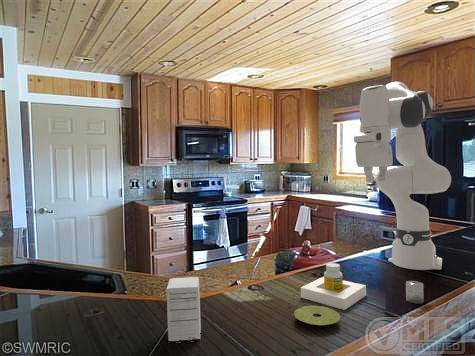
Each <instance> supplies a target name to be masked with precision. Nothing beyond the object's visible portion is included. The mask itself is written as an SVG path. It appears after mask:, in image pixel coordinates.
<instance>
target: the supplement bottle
mask: <svg viewBox="0 0 475 356" xmlns="http://www.w3.org/2000/svg"><path fill="white" fill-rule="evenodd" d="M325 269H326V270H324V273H323V275H324V276H323V277H324V288H325V290H329V291H333V292H337V293H340V292H342V291H343V279H344V278H343V273H342V272H341V271H340V270H341V265H340V264H339V263H334V262H331V263H326V264H325Z"/></svg>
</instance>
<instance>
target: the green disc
mask: <svg viewBox="0 0 475 356" xmlns="http://www.w3.org/2000/svg"><path fill="white" fill-rule="evenodd" d="M293 315H294V317H295V318H296V319H297V320H299V321H300V322H304V323H306V324H309V325H316V326H327V325H333V324H336V323H338V322H339V321H340V319H341V315H340V313H339V312H337V311H336V310H334V309H332V308H330V307H326V306H322V305H304V306H301V307H298V308H297V309H295V310H294V313H293Z"/></svg>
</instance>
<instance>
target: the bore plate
mask: <svg viewBox="0 0 475 356" xmlns="http://www.w3.org/2000/svg"><path fill="white" fill-rule="evenodd" d="M366 296H367V285H366V284H362V283H356V282H352V281H348V280H343V291H342V292H340V293H337V292H333V291H329V290H325V288H324V276H322V277H319V278H318V279H315V280H313V281H311V282H309V283H307V284H305V285H303V286H300V298H301V299H305V300H309V301H312V302H315V303H319V304H322V305H326V306H330V307H332V308H336V309H340V310H343V311H345V310H347V309H348V308H351V306H353V305H355V304H356V303H358V302H359V301H360V300H362V299H363V298H365V297H366Z"/></svg>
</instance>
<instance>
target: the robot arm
mask: <svg viewBox="0 0 475 356" xmlns="http://www.w3.org/2000/svg"><path fill="white" fill-rule="evenodd" d="M433 107H434V101H433V98H432V96H431V95H430V94H429V92H427V91H426V90H423V91H414V90H410V89H409V87H408V86H407V85H406V84H405V83H404V82H401V81H393V82H390V83H388V84H386V85H382V84H381V85H373V86H368V87H364V88H363V89H362V90H361V92H360V99H359V122H360V126H359V132H358V133H357V134H355V135H354V136H353V142H354V143H355V146H354V148H355V149H354V150H355V162H356V165H357V167H358V168H363V171H364V176H365V179H366V180H365V181H366V183H373V182H375V183H376V186H377V188H378V189H379V191H381V192H382V193H383V194H384V195H386V196H387V197H388V198H389V199H390V201H391V202H392V204H393V205H394V206H393V207H394V209H395V215H396V216H395V217H396V228H395V237H396V239H394V240H393V241H392V243H391V245H392V247H391V248H392V249H391V251H392V252H391V257H389V258H388V259H387V260H388V262H390V263H392V264H393V265H395V266H396V267H399V268H404V269H409V270H418V271H419V270H420V271H427V270H428V271H429V270H442V266H443V258H442V257H439V256H438V255H436V251H437V250H436V246H435V244H434V243H433V241H432V229H431V228H430V215H429V213H430V212H429V209H428V208H427V207H426V206H425V205H424V204H421V203H420V202H417V201H414V200H413V199H412V198H411V197H410V196H411V195H412V194H415V195H416V194H418V195H419V194H421V195H422V194H423V195H424V194H426V195H429V194H430V195H431V194H432V195H433V194H438V193H444V192H445V191H447V190H448V188H450V186H451V183H452V175H451V173H450V171H449V170H448V168H447V167H445V166H443V165H440V164H438V163H437V162H435V161H434V160H432V158H431V157H429V155H428V151H427V148H426V147H427V146H426V139H425V133H424V129H423V127H422V123H423V122H426V121H427V118H428V117H429V116H430V115H431V113H432V111H433ZM393 129H397V131H396V136H395V157H396V160H397V161H398V162H399V163H400V164H402V165H393V162H394V161H393V160H394V159H393V149H392V148H393V147H392V145H391V144H390V143H391V142H392V131H391V130H393ZM374 168H378V172H377V174H376V176H373V174H374V173H373V169H374ZM374 178H375V180H374Z"/></svg>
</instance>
